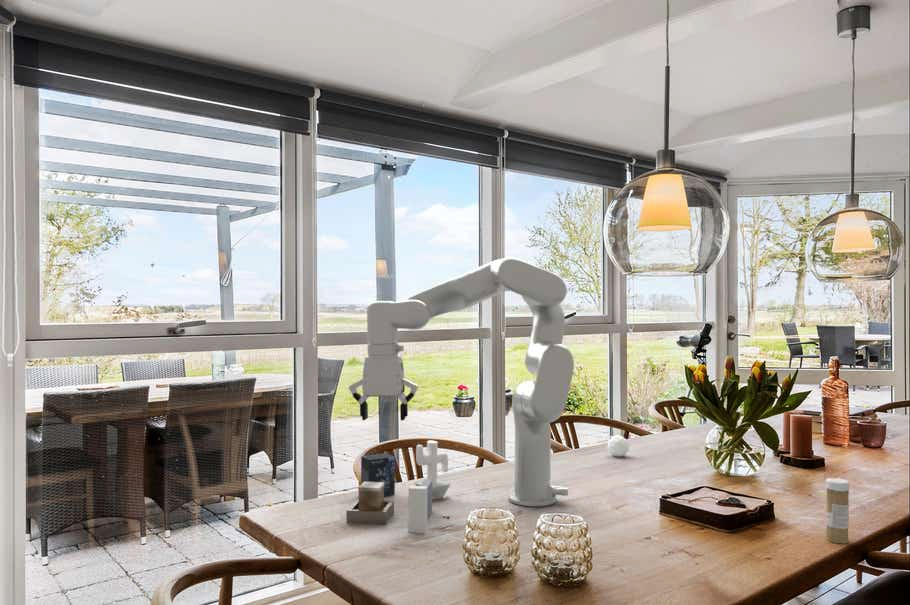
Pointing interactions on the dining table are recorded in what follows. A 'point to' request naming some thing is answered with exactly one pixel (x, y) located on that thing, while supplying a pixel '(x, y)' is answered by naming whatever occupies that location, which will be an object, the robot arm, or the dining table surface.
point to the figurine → (433, 467)
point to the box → (379, 471)
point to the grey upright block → (419, 506)
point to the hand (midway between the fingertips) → (384, 419)
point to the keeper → (370, 514)
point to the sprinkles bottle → (837, 510)
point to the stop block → (371, 496)
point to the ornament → (618, 446)
